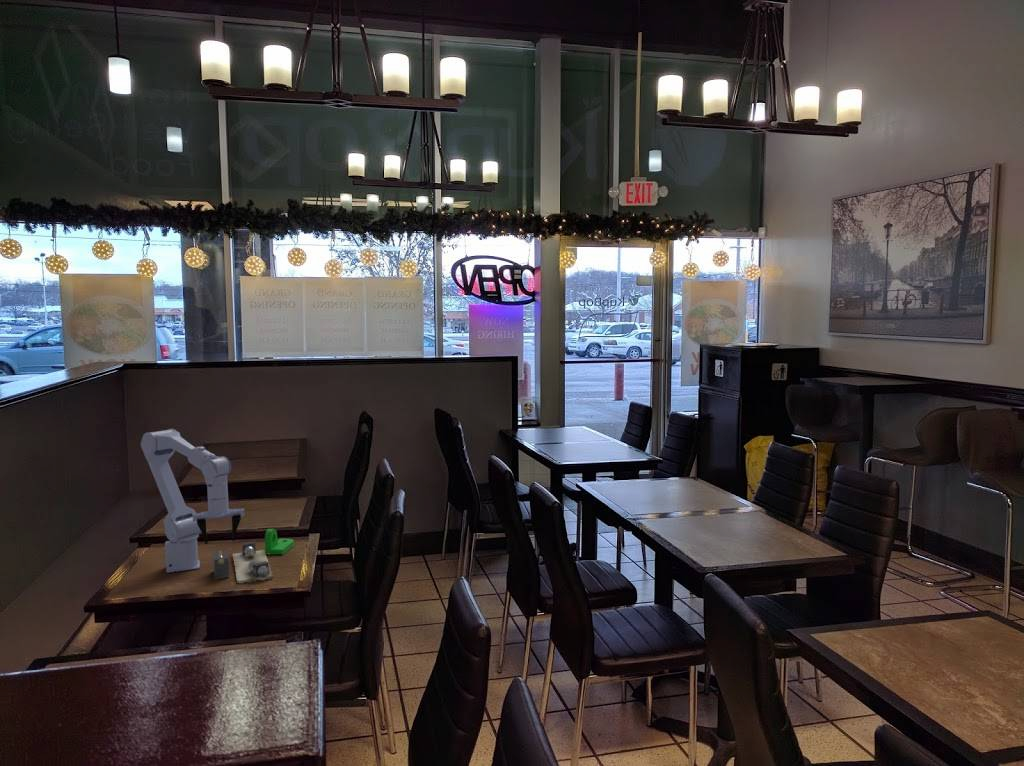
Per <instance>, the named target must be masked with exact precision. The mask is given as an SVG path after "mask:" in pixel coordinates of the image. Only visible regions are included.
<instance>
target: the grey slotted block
mask: <svg viewBox="0 0 1024 766" xmlns="http://www.w3.org/2000/svg"><path fill="white" fill-rule="evenodd" d="M212 554H213V557H212V558H213V559H212V560H213V574H214V575H213V576H214V580H218V579H217V578H222V577H229V578H230V568H229V555H228V550H218V551H215V552H213V553H212ZM222 579H223V578H222Z"/></svg>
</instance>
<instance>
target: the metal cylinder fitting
mask: <svg viewBox="0 0 1024 766" xmlns="http://www.w3.org/2000/svg"><path fill="white" fill-rule="evenodd" d="M256 551H257V550H256V541H249V542H247V541H246V542H241V553H242V554H243V555H245V556H246V558H248V559H251V558H253V557H254V556H255V554H256Z"/></svg>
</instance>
